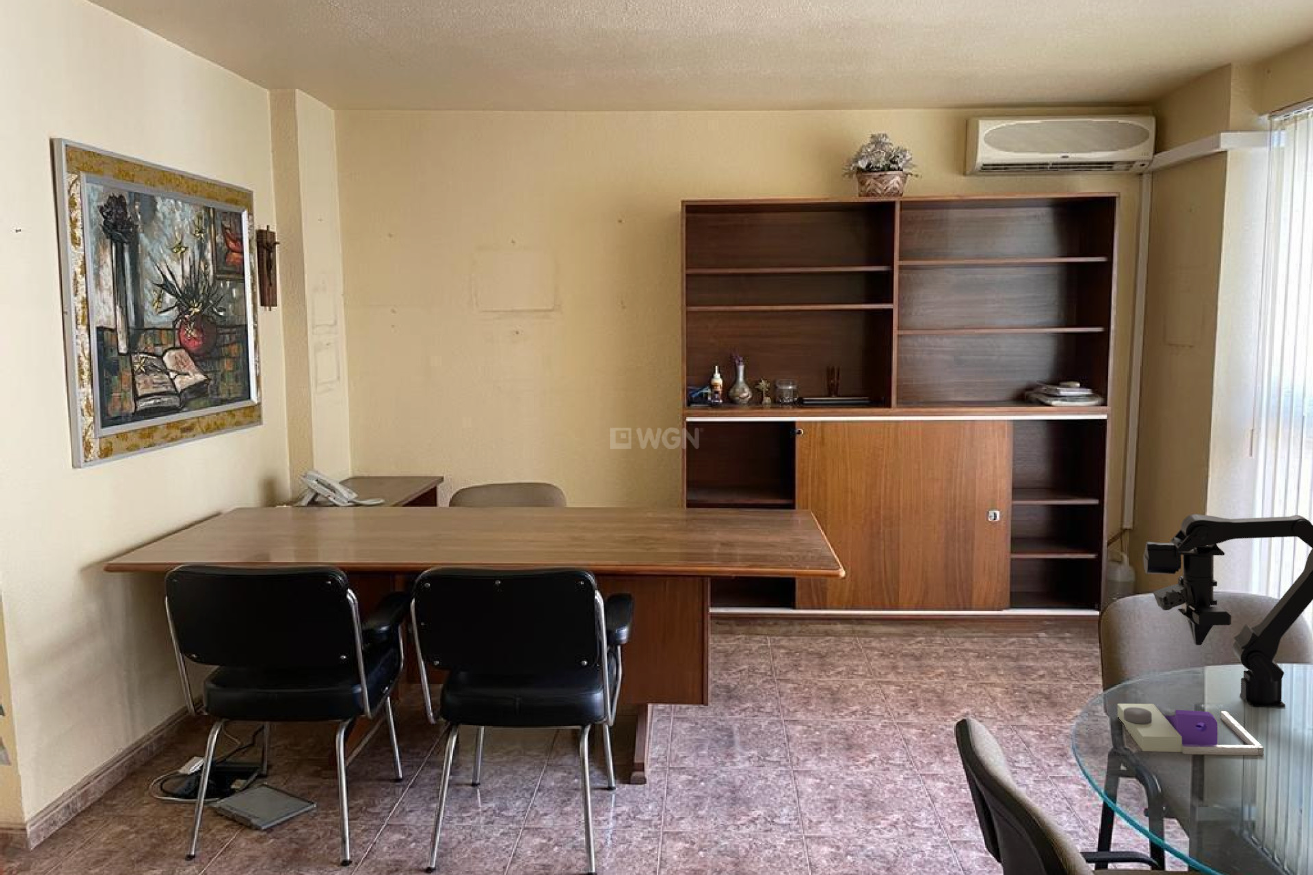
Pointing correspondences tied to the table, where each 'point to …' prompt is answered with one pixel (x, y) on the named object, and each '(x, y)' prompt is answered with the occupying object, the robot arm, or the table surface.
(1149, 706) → the cream railed tray
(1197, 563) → the robot arm
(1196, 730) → the bracket
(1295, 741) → the table surface
